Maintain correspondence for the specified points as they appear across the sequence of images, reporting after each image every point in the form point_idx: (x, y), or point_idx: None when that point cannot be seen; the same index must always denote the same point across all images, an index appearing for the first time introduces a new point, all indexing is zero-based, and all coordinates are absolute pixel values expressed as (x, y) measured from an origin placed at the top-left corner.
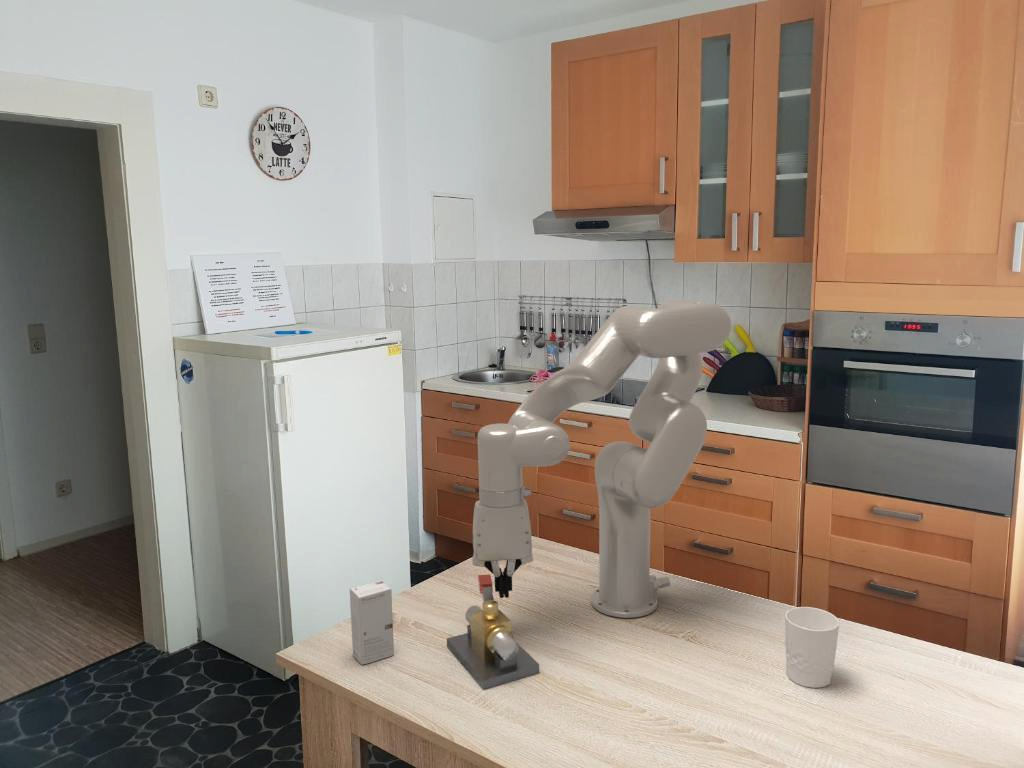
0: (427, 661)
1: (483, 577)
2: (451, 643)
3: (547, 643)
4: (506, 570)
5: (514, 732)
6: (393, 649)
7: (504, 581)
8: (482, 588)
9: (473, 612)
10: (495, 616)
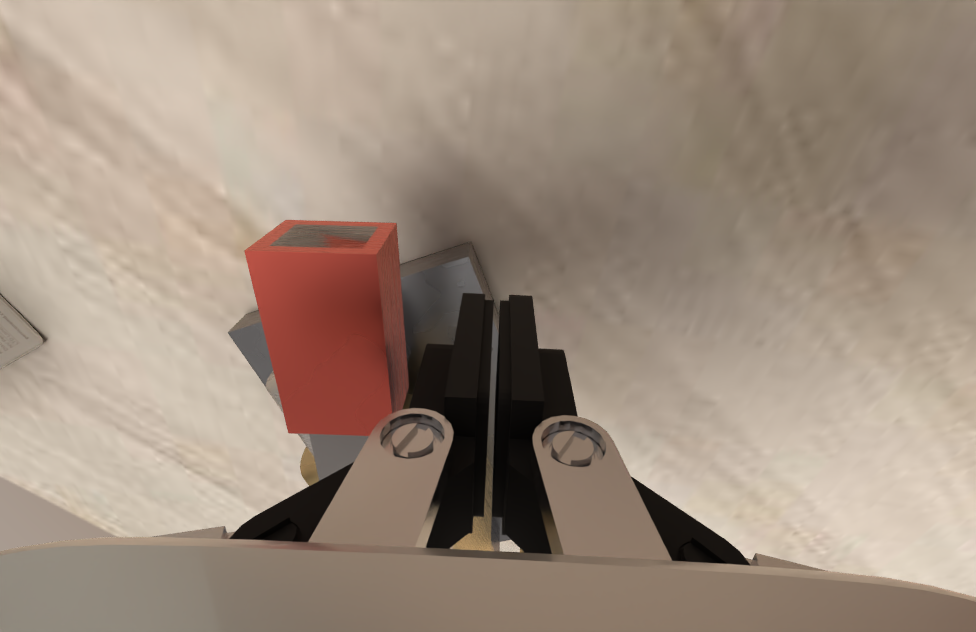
0: (194, 393)
1: (307, 314)
2: (256, 370)
3: (656, 357)
4: (521, 544)
5: None
6: (25, 352)
7: (492, 493)
8: (317, 461)
9: (305, 440)
10: None
